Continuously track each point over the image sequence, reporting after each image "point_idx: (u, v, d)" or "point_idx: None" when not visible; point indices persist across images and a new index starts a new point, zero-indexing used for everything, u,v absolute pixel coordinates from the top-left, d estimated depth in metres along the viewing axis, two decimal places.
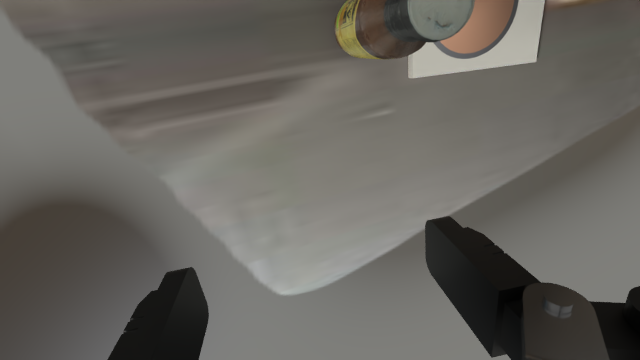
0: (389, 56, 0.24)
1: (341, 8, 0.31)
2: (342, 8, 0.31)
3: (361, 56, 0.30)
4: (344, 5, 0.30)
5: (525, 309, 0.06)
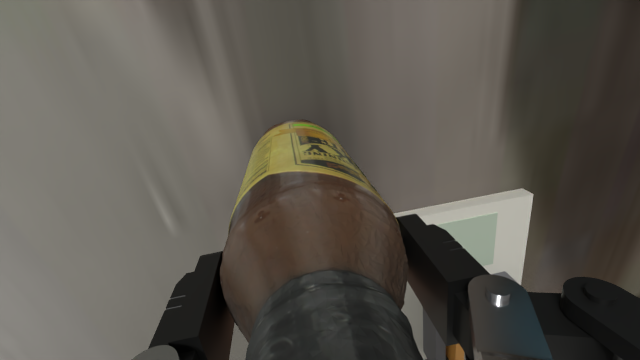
0: (221, 275, 0.09)
1: (323, 130, 0.18)
2: (324, 132, 0.17)
3: None
4: (328, 135, 0.17)
5: (471, 303, 0.07)
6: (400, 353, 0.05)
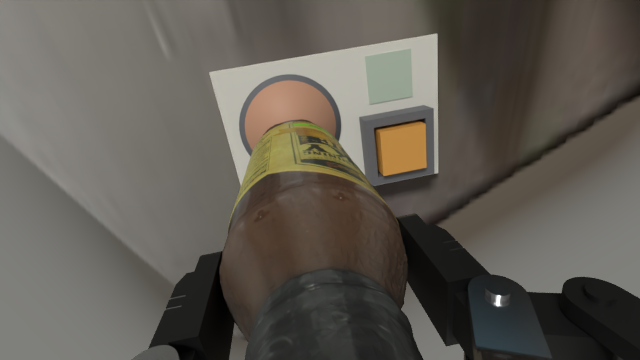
0: (220, 274, 0.09)
1: (323, 129, 0.18)
2: (323, 131, 0.17)
3: None
4: (328, 135, 0.17)
5: (471, 303, 0.07)
6: (399, 353, 0.05)
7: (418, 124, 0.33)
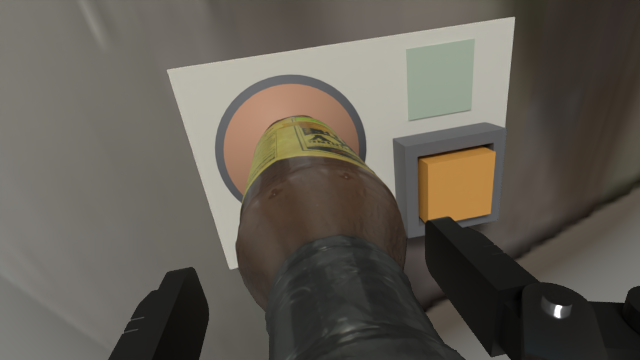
0: (237, 249, 0.10)
1: (324, 124, 0.19)
2: (324, 125, 0.18)
3: (250, 168, 0.16)
4: (329, 128, 0.18)
5: (524, 309, 0.06)
6: (402, 296, 0.06)
7: (484, 152, 0.22)
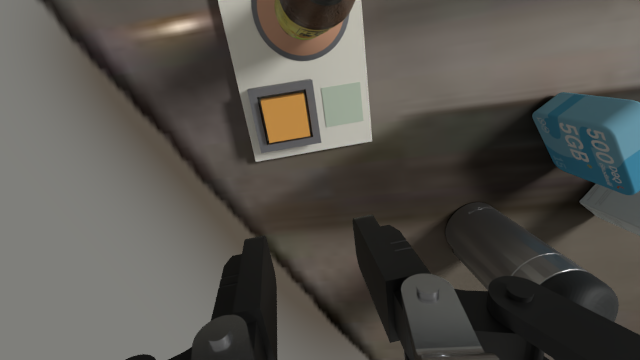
0: None
1: None
2: None
3: None
4: None
5: (406, 306, 0.07)
6: None
7: (309, 130, 0.37)
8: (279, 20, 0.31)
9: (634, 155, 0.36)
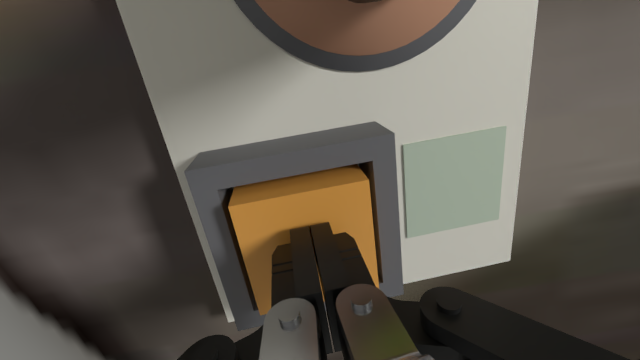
0: None
1: None
2: None
3: None
4: None
5: (343, 322, 0.07)
6: None
7: None
8: None
9: None
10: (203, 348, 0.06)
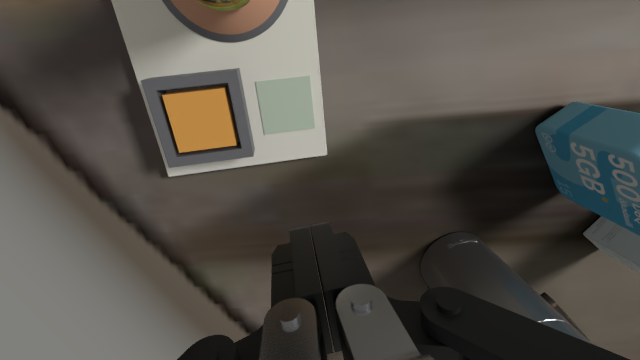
0: None
1: None
2: None
3: None
4: None
5: (343, 322, 0.07)
6: None
7: (235, 137, 0.28)
8: None
9: None
10: (202, 348, 0.06)
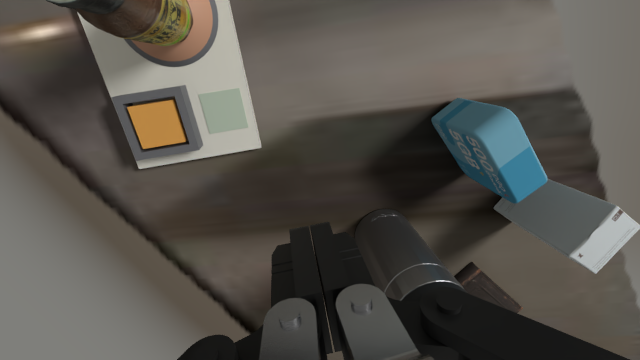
0: None
1: (187, 29, 0.32)
2: (185, 27, 0.31)
3: None
4: (183, 29, 0.31)
5: (343, 322, 0.07)
6: None
7: (184, 136, 0.37)
8: None
9: (509, 163, 0.35)
10: (202, 348, 0.06)
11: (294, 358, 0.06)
